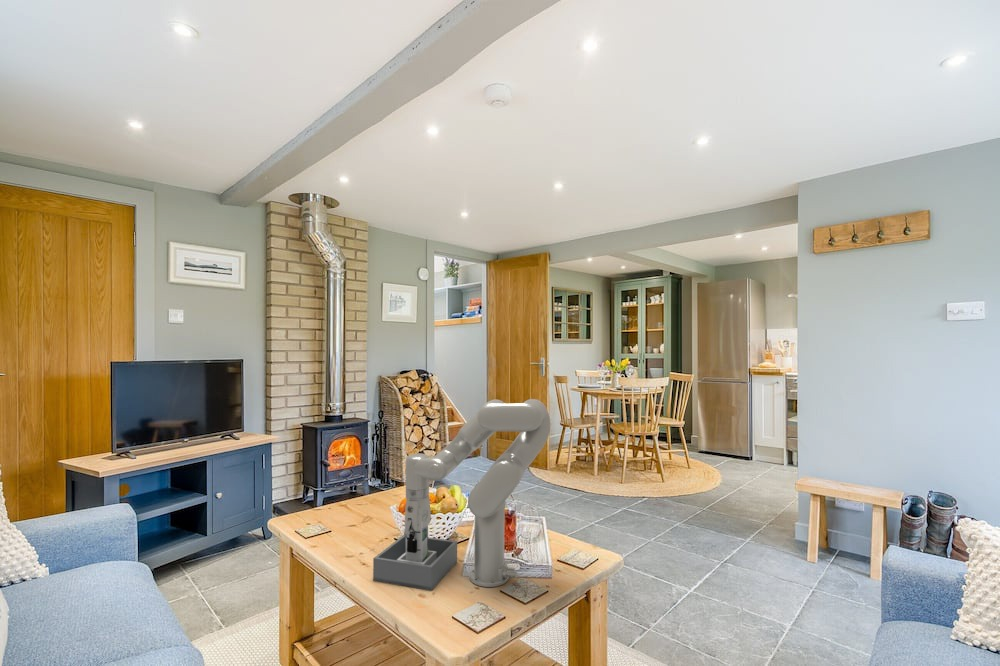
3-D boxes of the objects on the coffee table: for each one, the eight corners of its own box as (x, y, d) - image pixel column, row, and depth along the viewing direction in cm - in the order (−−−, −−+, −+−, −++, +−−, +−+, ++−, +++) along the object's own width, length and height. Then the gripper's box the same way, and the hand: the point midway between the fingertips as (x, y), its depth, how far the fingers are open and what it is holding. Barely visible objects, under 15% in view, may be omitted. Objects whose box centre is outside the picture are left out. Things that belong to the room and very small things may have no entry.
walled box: (457, 562, 166) (457, 541, 166) (431, 590, 147) (431, 567, 147) (404, 554, 172) (404, 534, 172) (373, 580, 153) (373, 558, 153)
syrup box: (422, 566, 156) (422, 520, 156) (404, 564, 157) (405, 519, 158) (428, 558, 162) (428, 514, 162) (411, 556, 163) (411, 513, 163)
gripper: (415, 502, 150) (414, 560, 150) (439, 486, 167) (438, 539, 167) (393, 499, 153) (393, 557, 153) (419, 484, 169) (418, 536, 169)
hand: (417, 547), depth 160 cm, fingers closed on syrup box, 6 cm apart
